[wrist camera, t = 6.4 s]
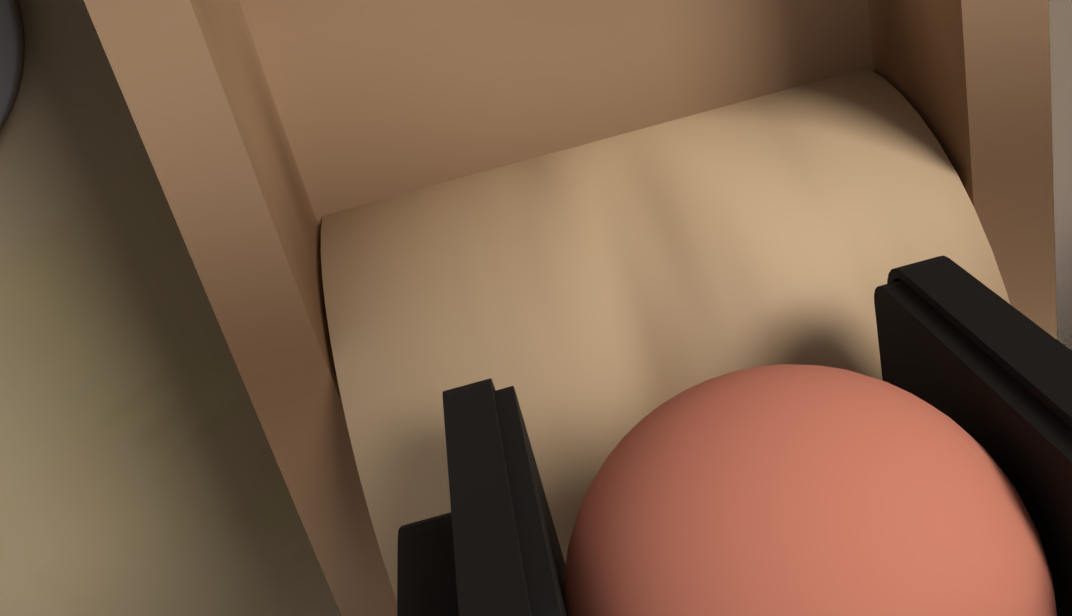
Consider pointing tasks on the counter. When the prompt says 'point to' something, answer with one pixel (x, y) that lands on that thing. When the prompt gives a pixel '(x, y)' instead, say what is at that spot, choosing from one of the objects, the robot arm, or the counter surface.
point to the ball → (803, 509)
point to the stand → (10, 55)
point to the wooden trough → (567, 211)
